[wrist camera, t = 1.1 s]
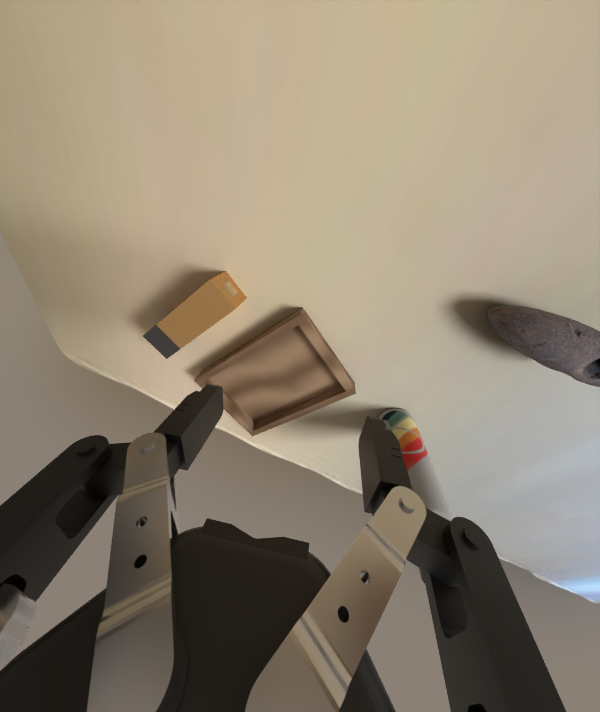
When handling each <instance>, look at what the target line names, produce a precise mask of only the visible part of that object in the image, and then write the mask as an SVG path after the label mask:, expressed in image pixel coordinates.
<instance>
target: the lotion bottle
mask: <svg viewBox="0 0 600 712" xmlns="http://www.w3.org/2000/svg"><path fill="white" fill-rule="evenodd" d="M378 418H380V419H383V420H384V424H385V428H386V430H388V431H392V432H393V433H394V435H395V436H396V437H397V439H398V440H399V444H400V447H401V451H402V454H403V459H404V461H405V465H406V468H407V472H408V475H409V479H410V482H411V486H412V489H413V491H414V492H415V493H416V494H417V495H418V496H419V497H420V498H421V500H422V501H423V503H424V505H425V507H427V508H428V509H429V510H431V511H433V512H434V513H436V514H438V515H440V516H442V517H444V518H446V519H447V520H449V521H451V520H452V519H453V518H454V517H453V515H452V512H451V510H450V507H449V505H448V502H447V500H446V497H445V495H444V492H443V490H442V487H441V485H440V482H439V480H438V477H437V475H436V473H435V470H434V468H433V465H432V463H431V460H430V458H429V455H428V453H427V451H426V448H425V446H424V443H423V441H422V438H421V436H420V433H419V431H418V428H417V426H416V424H415V421H414V419H413V417H412V415H411V414H410V413H409V412H407V411H406V410H403V409H397V408H395V409H389V410H386V411H384V412H383V413H381V414H380V415H379V417H378ZM419 571H420V575H421V578H422V581H423V582H424V583H425V580H424V575H423V570H422V569H421V568H419Z"/></svg>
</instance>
